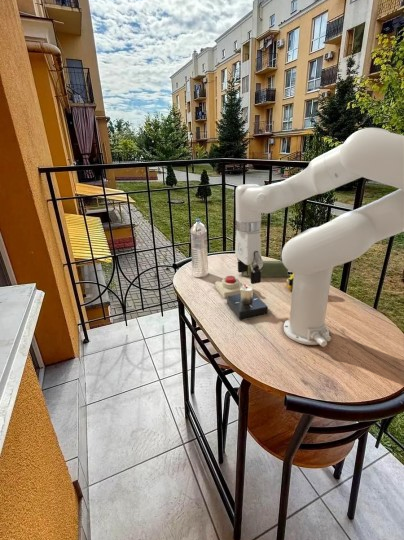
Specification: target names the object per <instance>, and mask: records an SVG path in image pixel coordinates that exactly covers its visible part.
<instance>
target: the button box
mask: <svg viewBox="0 0 404 540" xmlns="http://www.w3.org/2000/svg"><path fill="white" fill-rule="evenodd" d="M214 286H215V288H216V289H217V291H218V292H219V293H220V295H221V296H222V297H223V299H227V296H231V295H237V294H241V287H242V286H244V284H242V282H241V281H240V280H239V279H238V278H236V277H235V283H226V277H224V278H223V279H222V280H217V281H216V280H215V285H214Z"/></svg>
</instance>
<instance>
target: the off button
mask: <svg viewBox="0 0 404 540" xmlns="http://www.w3.org/2000/svg"><path fill="white" fill-rule="evenodd" d="M225 278H226V283H235V278H236V276H235V275H227V276H226V277H225Z"/></svg>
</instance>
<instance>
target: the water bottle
mask: <svg viewBox="0 0 404 540" xmlns="http://www.w3.org/2000/svg"><path fill="white" fill-rule="evenodd" d="M189 233H190V245H191V247H190V251H191V269H192V272H191V273H192V275H193V277H195V278H205V277H207V276H208V275H209V266H208V265H209V264H208V262H209V260H208V259H209V258H208V239H207V238H208V236H207V227H206V226H205V225H204V224H203V223H202V222H201V218H195V223H194V224H192V225H191V227H190V229H189Z"/></svg>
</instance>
